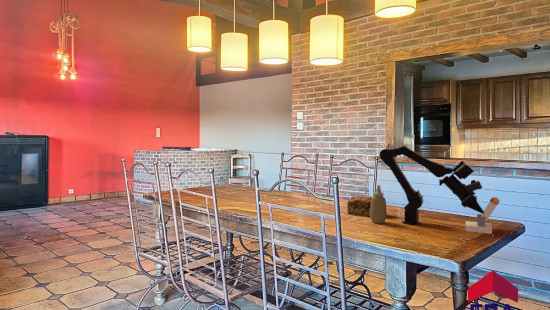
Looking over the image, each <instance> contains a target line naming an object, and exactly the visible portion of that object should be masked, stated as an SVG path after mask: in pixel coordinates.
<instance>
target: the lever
mask: <svg viewBox="0 0 550 310" xmlns="http://www.w3.org/2000/svg"><path fill="white" fill-rule="evenodd" d="M499 204H500V199H499V198H498V197H497V196H496V197H491V198H490V199H489V202H488V204H487V205H486V207H485V208H484V210H483V211H484V213H481V216H480V217H485V223H487V221H488V219H490V217H491V215H492V214H493V212H494V210H495V209H496V207H497V206H499Z"/></svg>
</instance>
